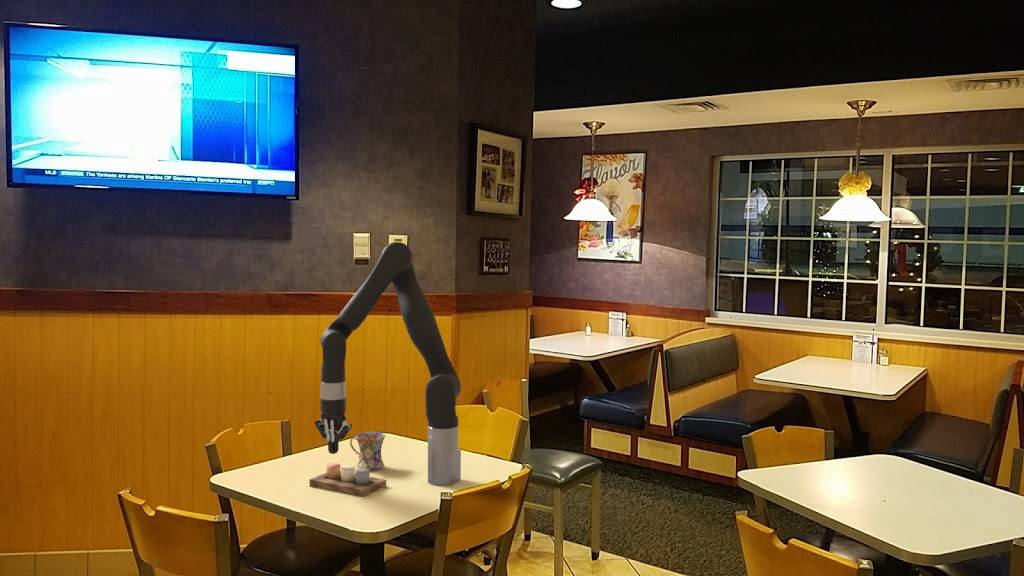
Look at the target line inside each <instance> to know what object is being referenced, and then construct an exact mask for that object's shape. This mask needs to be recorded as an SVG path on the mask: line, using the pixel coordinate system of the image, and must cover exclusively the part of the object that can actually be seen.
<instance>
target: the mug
mask: <svg viewBox="0 0 1024 576" xmlns="http://www.w3.org/2000/svg"><path fill="white" fill-rule="evenodd" d="M385 438H386V434H385V433H383V432H379V431H368V432H367V431H365V432H360V433H358V434H356V435H355V437H352V438H351V439H349V445H350V447H351V449H352V450H353V451H354V452H355V454H357V455H358V457H357V458H358V459H359V460H358V462H357V464H356V467H357V468H358V469H363V468H364V469H369V470H370V471H377V470H379V469H381V468H383V467H384V465H385V463H384V462H383V461H384V460H383V459H382V446H383V443H384V440H385ZM353 440H356V441H357V444H358V447H359V451H357V450H356V449H355V447H354V445H353V443H352V441H353Z"/></svg>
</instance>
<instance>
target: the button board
mask: <svg viewBox="0 0 1024 576" xmlns="http://www.w3.org/2000/svg"><path fill="white" fill-rule="evenodd" d="M308 485H309V487H313V488H318V489H323V490H328V491H333V492H337V493H341V494H347V495H352V496H355V497H356V496H358V497H362V498H363V497H367V496H368V495H370V494H373V493H374V492H377V491H378V490H379V491H380V490H381V489H384V488H385V487H387V479H383V478H378V477H373V476H370V484H367V485H365V486H362V485H357V484H356V473H355V481H353V482H350V483H346V482H341V470H340V478H339V479H336V480H331V479H327V472H325V473H322V474H320V475H318V476H315V477H312V478H310V479H309V483H308Z"/></svg>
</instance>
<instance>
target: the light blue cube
mask: <svg viewBox="0 0 1024 576" xmlns="http://www.w3.org/2000/svg"><path fill="white" fill-rule="evenodd" d="M370 471H371V470H369V469H364V468H363V469H360V468H358V469H355V474H356V484H357V485H362V486H365V485H367V484H370V477H371V476H370V474H371V473H370Z"/></svg>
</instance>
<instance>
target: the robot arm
mask: <svg viewBox="0 0 1024 576" xmlns="http://www.w3.org/2000/svg"><path fill="white" fill-rule="evenodd" d="M391 283H392V285H393V288H394V290H395V293H396V296H397V301H398V304H399V306H398V307H399V310H400V313H401V317H402V320H403V323H404V326H405V328H406V331H407V334H408V337H409V339H410V340H411V342H412V344H413V345H414V347H415V348H416V349H417V351H418V352H419V353H420V355H421V357H422V358H423V359H424V361H425V364H426V366H427V368H428V372H429V375H430V379H429V380H428V382H427V383H426V385H425V386H426V387H425V416H426V420H427V482H428V483H429V484H431V485H433V486H434V485H435V486H448V487H449V486H453V485H455V484H457V483H458V482H461V481H462V480H461V477H462V475H461V473H462V470H461V469H462V467H461V466H462V465H461V464H462V463H461V462H462V456H461V455H462V451H461V449H459V416H458V415H457V411H456V398H457V397H458V396H459V395H460V393H461V390H462V389H461V388H462V385H461V380H460V378H459V376H458V374H457V372H456V370H455V367H454V366H453V364H452V362H451V360H450V358H449V355H448V353H447V350H446V347H445V344H444V340H443V338H442V335H441V332H440V329H439V325H438V323H437V319H436V317H435V315H434V312H433V309H432V307H431V304H430V303H429V301H428V299H427V297H426V295H425V294H424V292H423V290H422V288H421V286H420V284H419V281H418V279H417V275H416V272H415V267H414V264H413V254H412V250H411V249H410V247H409V246H408V245H407V244H406V243H404V242H401V241H393V242H390V243H389V244H387V245H386V246H385V247H384V248H383V250H382V253H381V255H380V257H379V259H378V261H377V263H376V264H375V267H373V270H372V271H371V273H370V274H369V276H368V277H367V278H366V280H365V281H364V282H363V284H362V285H361V286H360V287H359V289H357V291H356V292H355V293H354V295H352V297H351V298H350V300H349V301H348V302H347V303H346V305H345V306H344V307H343V309H342V310H341V311H340V313H339V315H337V317H336V318H335V319H334V320H333V321H332V322H331V323H330V324H329V325H328V327H326V329H325V330H324V332H323V333H322V335H321V337H320V340H319V341H320V346H321V347H322V348H321V349H322V364H321V368H320V369H321V372H320V373H321V374H320V378H321V379H320V389H319V390H320V392H319V393H320V394H319V395H320V398H319V399H320V403H319V404H320V405H319V406H320V412H321V414H320V418H319V419H318V420H315V421H314V425H315V427H316V428H317V430H318V432H319V433H320V435H321V437H322V439H326V441H327V450H328V453H329V454H332V455H334V454H337V453H338V452H339V441H340V440H344V439H345V437H346V436H347V435H348V433H349V432H350V431H351V429H352V427H353V425H352V423H348V422H347V417H346V415H345V413H346V411H347V387H346V366H345V365H346V357H347V340H348V339H349V337H350V336H351V335H352V333H353V332H354V331H356V330H357V329H359V328H360V326H361V325H362V324H363V323H364V321H365V320H366V318H368V316H369V315H370V313H371V312H372V311H373V310H374V307H375V306H376V304H377V302H378V301H379V300H380V298H381V296H382V295H383V293H384V292H385V290H386V289H387V288H388V286H389V285H390V284H391Z"/></svg>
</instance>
